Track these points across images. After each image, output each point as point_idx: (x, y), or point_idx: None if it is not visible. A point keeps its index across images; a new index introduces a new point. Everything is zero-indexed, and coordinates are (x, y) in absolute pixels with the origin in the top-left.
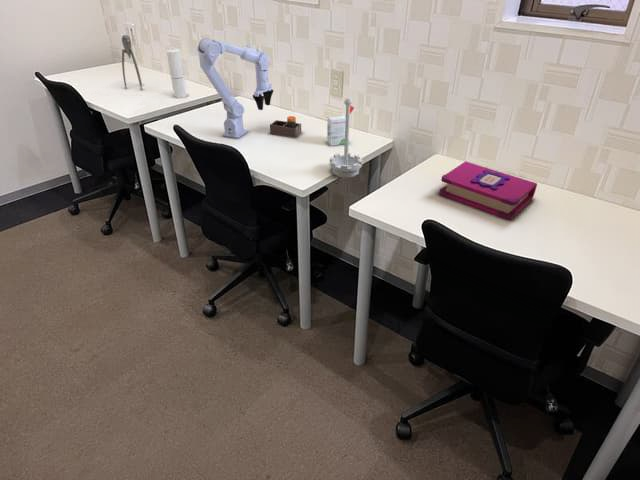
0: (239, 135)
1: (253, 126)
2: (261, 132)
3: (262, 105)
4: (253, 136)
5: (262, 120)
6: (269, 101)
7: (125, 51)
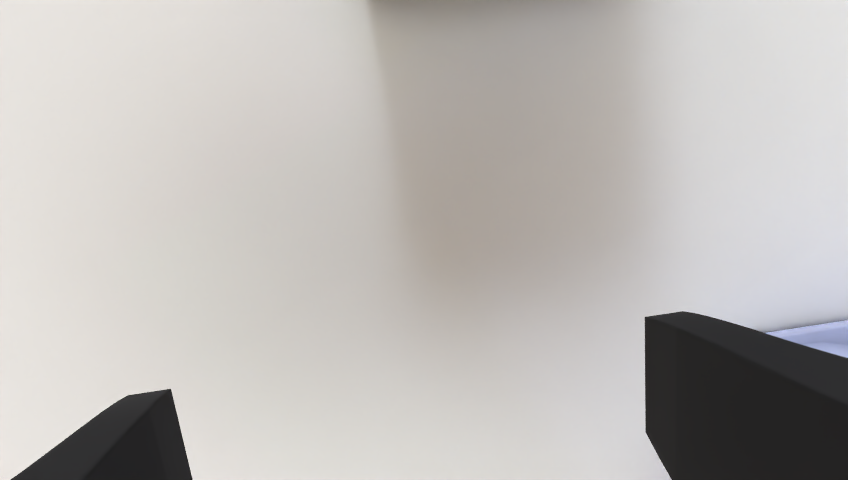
0: None
1: (448, 402)
2: (620, 147)
3: (801, 347)
4: (812, 161)
5: None
6: (125, 452)
7: None
